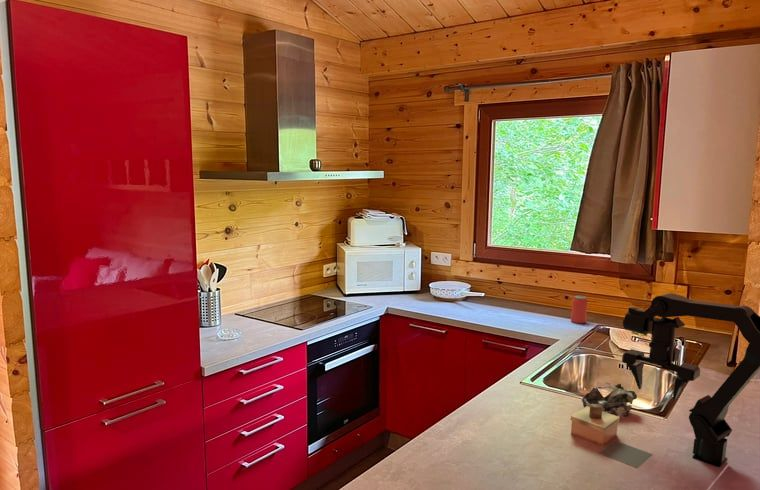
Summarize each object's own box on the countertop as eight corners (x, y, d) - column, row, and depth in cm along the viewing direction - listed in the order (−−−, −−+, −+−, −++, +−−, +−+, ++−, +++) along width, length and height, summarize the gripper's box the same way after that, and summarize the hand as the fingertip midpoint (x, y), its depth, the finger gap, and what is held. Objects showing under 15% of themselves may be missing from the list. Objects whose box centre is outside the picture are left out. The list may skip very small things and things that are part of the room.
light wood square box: (616, 436, 162) (617, 420, 162) (602, 447, 156) (603, 431, 155) (585, 425, 169) (586, 410, 168) (570, 435, 162) (571, 420, 162)
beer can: (587, 324, 269) (589, 298, 267) (573, 323, 269) (575, 298, 267) (582, 320, 276) (584, 295, 274) (568, 319, 276) (570, 294, 274)
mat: (652, 455, 152) (652, 454, 152) (637, 469, 145) (637, 468, 145) (614, 441, 159) (614, 440, 159) (598, 454, 152) (598, 453, 152)
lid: (619, 421, 162) (620, 406, 161) (604, 432, 155) (605, 417, 154) (586, 409, 168) (587, 396, 168) (570, 420, 162) (571, 405, 161)
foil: (579, 390, 186) (624, 372, 180) (596, 421, 184) (642, 404, 178) (575, 402, 175) (623, 384, 169) (594, 435, 174) (642, 418, 168)
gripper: (709, 341, 157) (703, 396, 160) (639, 325, 170) (634, 376, 173) (696, 350, 150) (689, 408, 152) (623, 333, 163) (618, 386, 165)
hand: (656, 393), depth 161 cm, fingers open, 9 cm apart
